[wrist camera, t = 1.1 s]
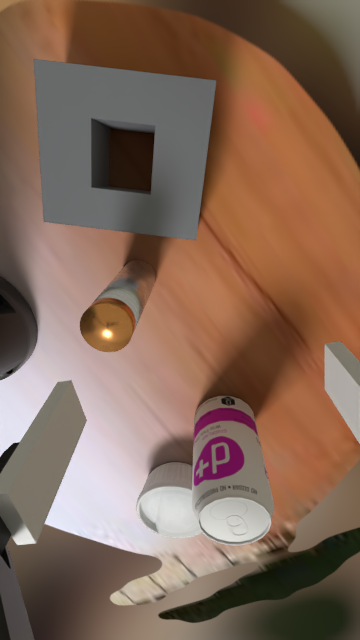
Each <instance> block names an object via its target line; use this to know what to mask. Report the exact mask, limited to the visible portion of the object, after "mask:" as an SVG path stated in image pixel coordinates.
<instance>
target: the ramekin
mask: <svg viewBox="0 0 360 640" xmlns="http://www.w3.org/2000/svg"><path fill="white" fill-rule="evenodd" d="M192 476H193V466H191V465H189V464H186V463H181V462H170V463H166V464H163V465H160V466H159V467H157V468H155V469H154V470H153V471H152V472H151V473H150V475H149V476H148V478H147V480H146V483H145V485H144V488H143V490H142V492H141V493H140V495H139V497H138V500H137V506H136V511H137V515H138V517H139V519H140V521H141V522H142V523H143V524H144V525H145V526H146V527H147V528H148V529H150V530H151V531H153V532H155V533H157V534H160V535H162V536H166V537H171V538H188V537H193V536H196V535H199V534H201V533H203V532H202V531H201V530H200V527H199V524H198V522H197V520H196V518H195V516H194V513H193V510H192Z"/></svg>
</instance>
